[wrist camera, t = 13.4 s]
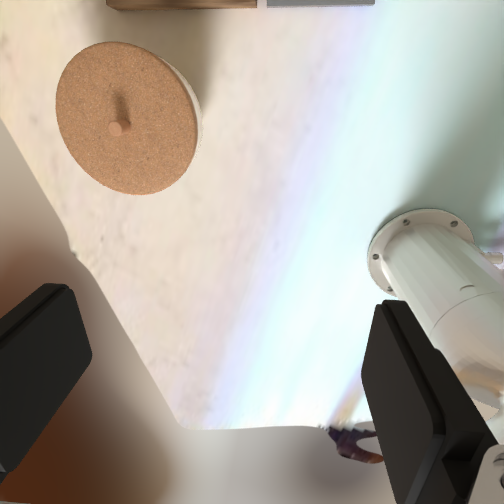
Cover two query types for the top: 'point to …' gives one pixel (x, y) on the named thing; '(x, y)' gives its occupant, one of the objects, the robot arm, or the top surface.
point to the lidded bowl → (128, 117)
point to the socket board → (179, 4)
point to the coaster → (318, 3)
